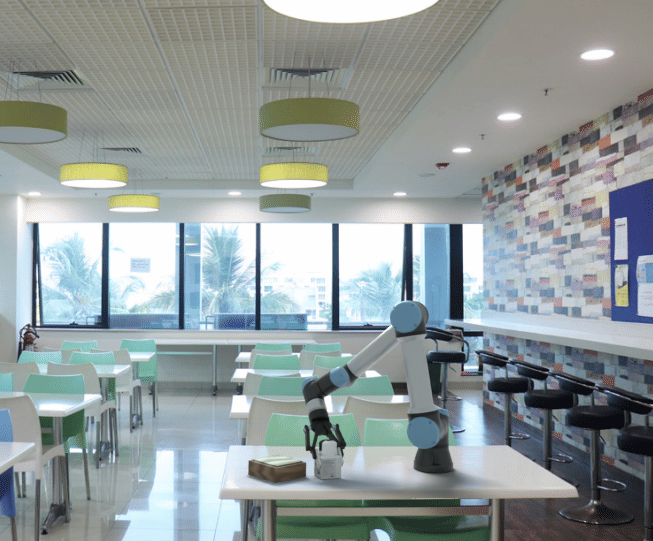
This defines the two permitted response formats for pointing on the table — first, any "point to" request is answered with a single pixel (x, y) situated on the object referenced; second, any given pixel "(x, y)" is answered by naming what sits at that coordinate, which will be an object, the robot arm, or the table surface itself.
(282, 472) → the block
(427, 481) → the table surface
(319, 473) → the container
